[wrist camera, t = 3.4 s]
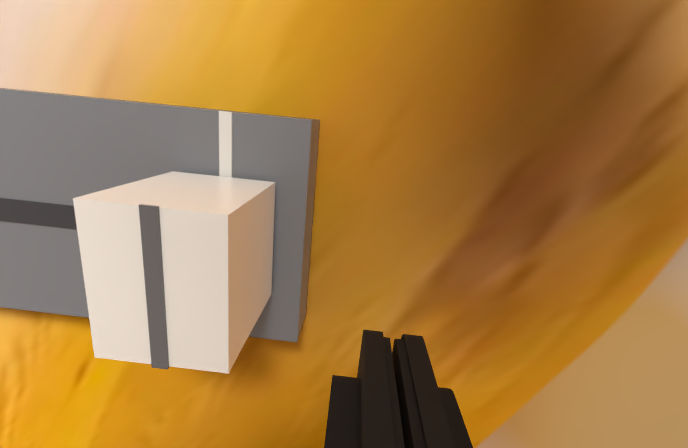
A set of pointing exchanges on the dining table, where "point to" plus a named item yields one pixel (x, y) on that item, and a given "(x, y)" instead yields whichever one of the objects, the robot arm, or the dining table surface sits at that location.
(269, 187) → the fader tab
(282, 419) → the dining table surface
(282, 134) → the board
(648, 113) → the dining table surface
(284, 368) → the dining table surface
